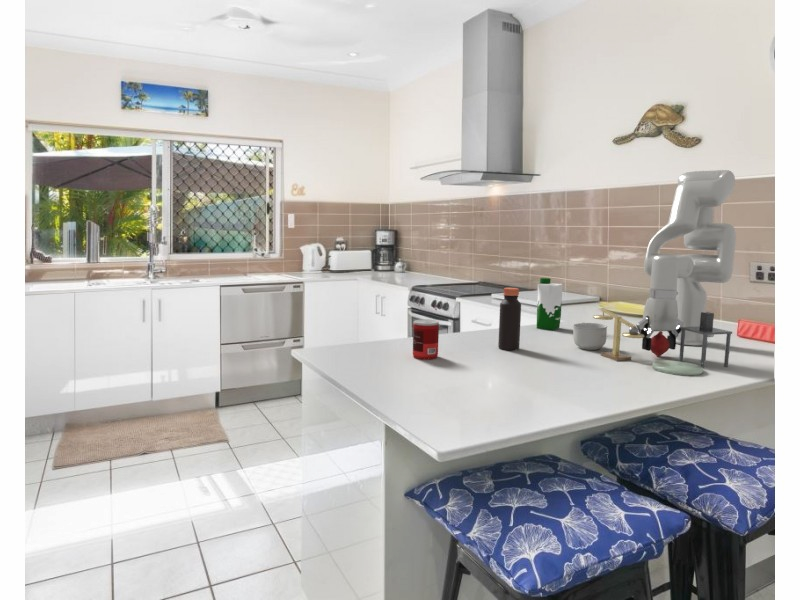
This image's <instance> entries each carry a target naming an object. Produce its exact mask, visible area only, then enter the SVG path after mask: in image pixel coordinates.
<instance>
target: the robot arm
mask: <svg viewBox="0 0 800 600" xmlns="http://www.w3.org/2000/svg"><path fill="white" fill-rule="evenodd" d="M735 185H736V178H735V175H734V172H732V171H731V170H727V169H720V170H719V169H718V170H698V171H697V170H696V171H688V172H685V173H682V174H681V175H679V176H678V179H677V187H676V189H675V192H674V195H673V199H672V205H671V210H670V214H669V218H668V221H667V223H666V224H665V225H664V226H662V228H660V229H659V230H658V231H657V232H656V233H654V235H653V237H651V239H650V241H649V243H648V245H647V248H646V253H645V256H644V260H643V270H644V273H645V274H646V275H648V276H650V288H649V298H647V299H646V301H645V304H644V308H643V312H642V313H643V314H642V319H641V320H640V321H638V322H637V323H636V324H635V326H636V327H637V328H638V333H640V334H643V335H644V338H642V343H641V349H642V350H644V351H651V338H652V337H651V336H652V335H653V333H654V332H660V331H661V332H667V333H668V334H667V336H666V338H667V339H668V341H669V349H670V350H672V351H673V350H674V351H675V350H676V347H677V346H676V344H677V345H680V344H681V332H682V329H680V328H681V327H698V326H700V318H701V312H706V306H707V296H708V295H707V291H706V289H705V288H704V287H703V285H702V284H701V283H713V284H714V283H717V284H719V283H720V284H724V283H728V282H729V281H730V279H731V278H732V275H733V269H734V259H735V252H736V244H737V243H736V242H737V241H736V240H737V232H736V228H735V227H734V226H733V225H732V224H730V223H724V222H723V223H722V222H719V223H717V222H714V213H715V209H714V207H719V206H722V205H723V204H724V203H725V201H726V200H727V199H728V198H729V197H730V196H731V194H732V193H733V191H734V189H735ZM679 237H683V246H684V247H685V248H686V249H688V250H692V251H706V252H709V251H710V252H717V253H718V254H704V253H688V254H687V253H686V254H677V253H676V254H673V253H660V252H659V251H660V250H661V248H662V247H663V246H664V245H666V244H667V243H668V242H670V241H672V240H674V239H677V238H679ZM713 337H715V334H714V335H708V337H707V338H713ZM702 343H703V334H699V333H695V332H691V331H687V330H685V340H684V346H695V347H697V346H699V347H700V346H701V347H702ZM708 344H709V342H708V340H707V345H708ZM669 349H668V350H669Z"/></svg>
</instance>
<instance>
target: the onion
mask: <svg viewBox="0 0 800 600" xmlns="http://www.w3.org/2000/svg"><path fill="white" fill-rule="evenodd" d="M663 333H664V331H658V333H656V334H654V335H653V336H652V337H650V338H651V350H650V351H651V353H653V354H654V356H656V357H661V356H662V355H664V354H665V353H666V352H668V351H669V341H668V339H667V336H665V335H664V334H663Z"/></svg>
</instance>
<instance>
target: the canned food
mask: <svg viewBox="0 0 800 600" xmlns="http://www.w3.org/2000/svg"><path fill="white" fill-rule="evenodd" d="M412 325H413V326H412V357H413V358H415V359H418V360H434V359H437V357H438V355H439V335H440V334H439V333H440V331H439V330H440V329H439V328H440V327H439V326H440V321H439V320H435V319H425V318H424V319H423V318H422V319H416V320H413V324H412Z"/></svg>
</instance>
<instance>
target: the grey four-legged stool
mask: <svg viewBox="0 0 800 600" xmlns="http://www.w3.org/2000/svg"><path fill="white" fill-rule="evenodd" d="M714 317H715V313H714V312H710V311H709V312H708V311H705V312H701V318H700V326H698V327H681V328H680V329H682V332H681V344H679V345H680V347H679V348H680V349H679V357H678V358H679V359H678V361H681V362H684V352H685V351H684V350H685V349H684V348H685V345H684V340H685V330H687V331H691V332H695V333H699V334H703V343H702V346H701V347H702V348H701V356H700V359H701V360H700V366H701V367H703V370H704V369H705V363H706V361H707V360H706V359H707V358H706V357H707V349H708V348H707V347H708V346H707V345H708V344H707V341H708V338H709V337H708V335H714V336H715V335H726V338H725V349H724V350H725V351H724V361H723V367H724V368H728V367H729V358H730V357H729V356H730V346H731V336H732V334H733V331H731V330H725V329H722V328H717V327H713V326H714Z"/></svg>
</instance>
